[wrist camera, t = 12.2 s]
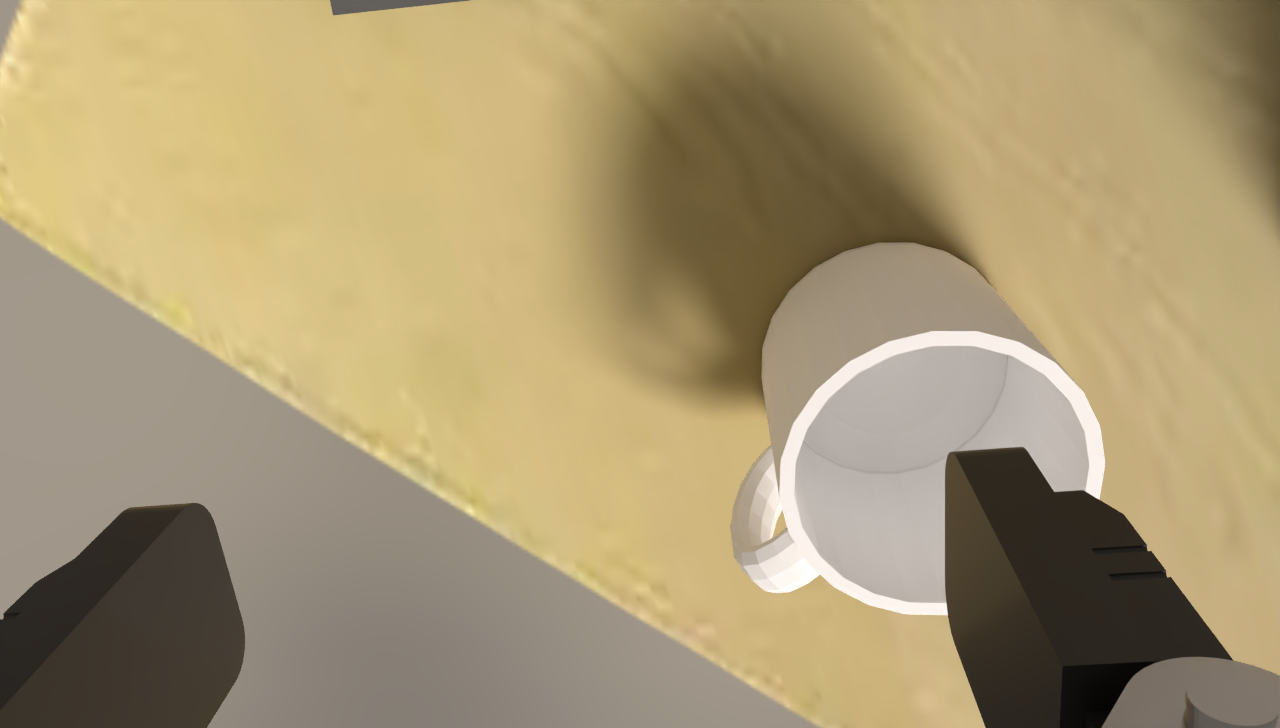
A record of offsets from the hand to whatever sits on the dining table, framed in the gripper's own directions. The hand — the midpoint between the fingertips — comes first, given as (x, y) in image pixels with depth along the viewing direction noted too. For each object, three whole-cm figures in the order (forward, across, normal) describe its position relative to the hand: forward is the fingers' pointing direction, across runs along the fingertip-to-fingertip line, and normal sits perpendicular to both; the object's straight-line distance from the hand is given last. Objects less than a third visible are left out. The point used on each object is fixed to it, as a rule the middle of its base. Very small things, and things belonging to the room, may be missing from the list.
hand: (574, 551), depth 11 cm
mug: (+30, -7, +11) cm, 33 cm away
